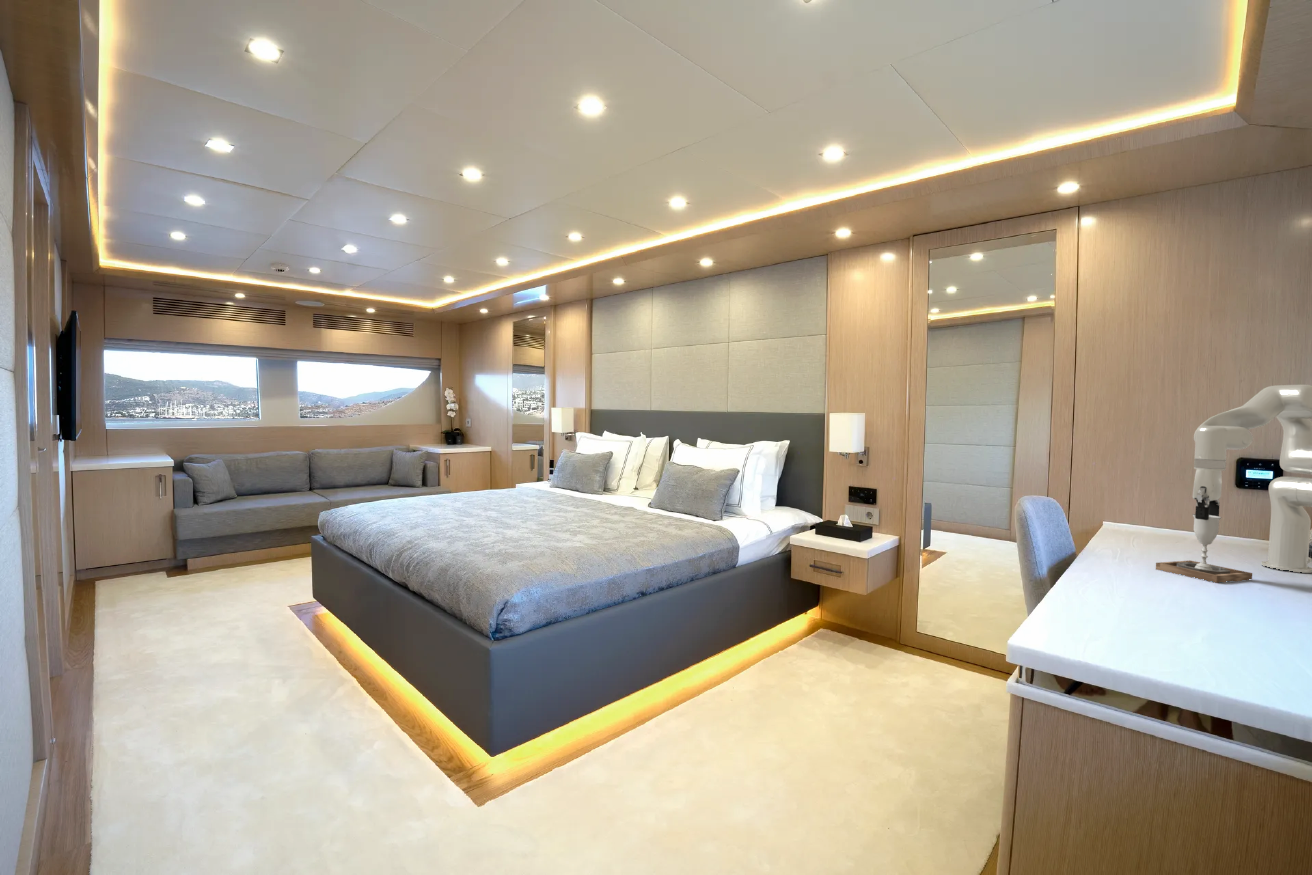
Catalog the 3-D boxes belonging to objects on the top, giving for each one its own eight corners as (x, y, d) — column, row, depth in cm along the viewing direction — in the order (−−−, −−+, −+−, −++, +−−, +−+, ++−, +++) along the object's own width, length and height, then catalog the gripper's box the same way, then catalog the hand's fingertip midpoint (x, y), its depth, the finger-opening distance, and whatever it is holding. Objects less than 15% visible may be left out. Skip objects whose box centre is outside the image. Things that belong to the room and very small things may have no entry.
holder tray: (1189, 566, 208) (1190, 559, 208) (1251, 579, 192) (1252, 572, 192) (1155, 569, 202) (1156, 561, 202) (1216, 583, 186) (1216, 574, 186)
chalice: (1224, 574, 193) (1227, 518, 193) (1202, 573, 194) (1206, 517, 193) (1204, 568, 201) (1207, 514, 200) (1183, 568, 201) (1186, 513, 200)
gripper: (1203, 463, 204) (1201, 514, 205) (1185, 465, 194) (1182, 518, 195) (1233, 464, 198) (1231, 517, 198) (1216, 467, 188) (1213, 522, 189)
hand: (1207, 517), depth 197 cm, fingers open, 9 cm apart
